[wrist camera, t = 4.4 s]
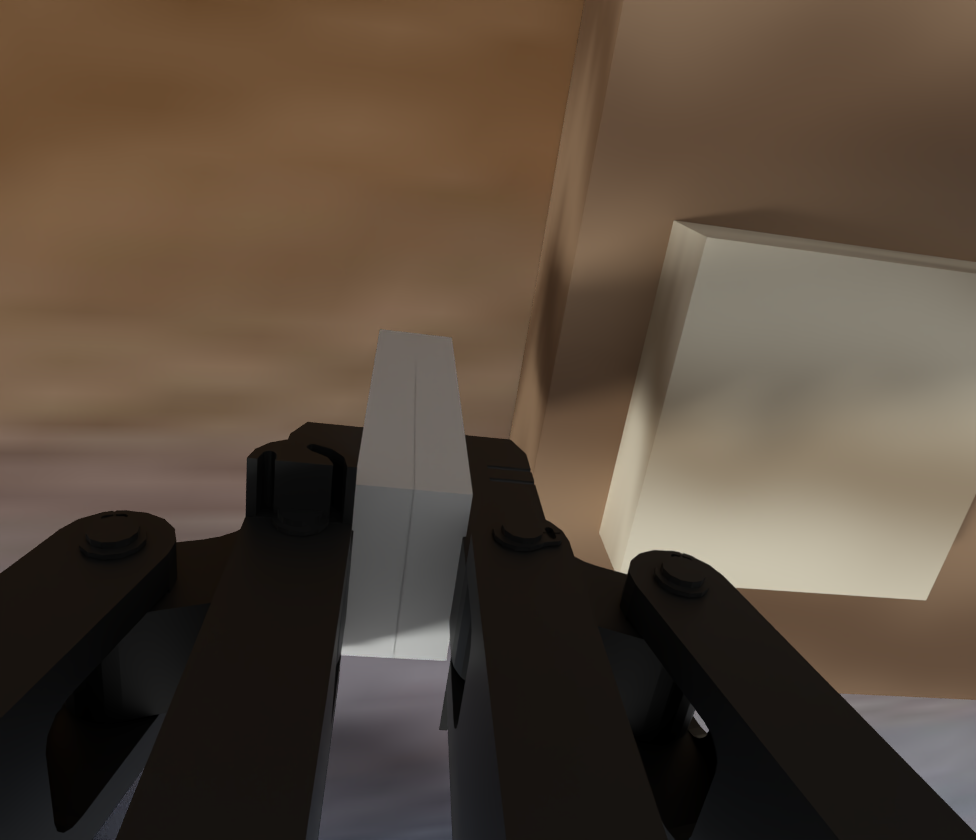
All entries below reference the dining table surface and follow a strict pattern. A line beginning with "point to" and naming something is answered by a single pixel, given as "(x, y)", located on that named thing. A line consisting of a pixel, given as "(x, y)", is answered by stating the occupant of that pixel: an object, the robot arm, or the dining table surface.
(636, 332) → the walnut board
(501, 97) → the dining table surface
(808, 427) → the birch tile
